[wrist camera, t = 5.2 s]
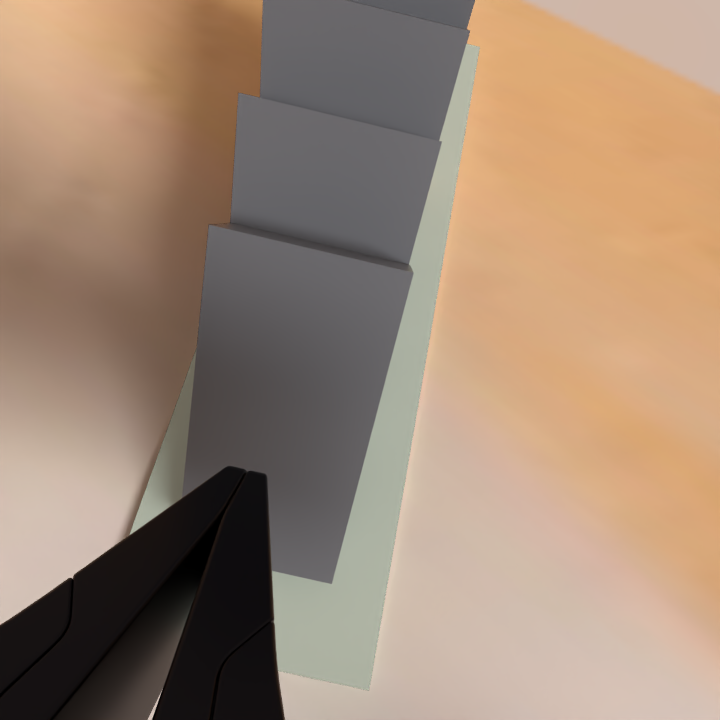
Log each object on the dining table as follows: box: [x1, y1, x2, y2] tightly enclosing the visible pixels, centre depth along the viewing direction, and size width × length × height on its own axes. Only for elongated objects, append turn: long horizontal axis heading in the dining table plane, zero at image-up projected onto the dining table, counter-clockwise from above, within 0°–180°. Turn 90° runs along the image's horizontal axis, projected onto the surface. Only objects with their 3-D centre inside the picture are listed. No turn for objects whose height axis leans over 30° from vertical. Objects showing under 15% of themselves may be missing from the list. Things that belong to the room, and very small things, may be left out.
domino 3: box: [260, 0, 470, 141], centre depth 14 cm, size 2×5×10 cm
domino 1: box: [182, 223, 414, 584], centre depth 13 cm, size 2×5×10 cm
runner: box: [130, 44, 480, 691], centre depth 19 cm, size 30×9×1 cm, turn 167°
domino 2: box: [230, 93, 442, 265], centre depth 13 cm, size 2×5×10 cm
